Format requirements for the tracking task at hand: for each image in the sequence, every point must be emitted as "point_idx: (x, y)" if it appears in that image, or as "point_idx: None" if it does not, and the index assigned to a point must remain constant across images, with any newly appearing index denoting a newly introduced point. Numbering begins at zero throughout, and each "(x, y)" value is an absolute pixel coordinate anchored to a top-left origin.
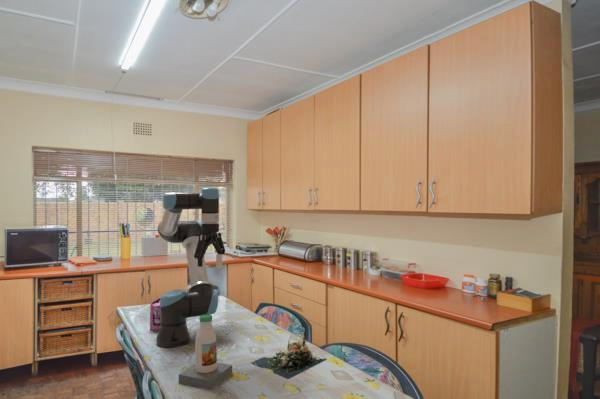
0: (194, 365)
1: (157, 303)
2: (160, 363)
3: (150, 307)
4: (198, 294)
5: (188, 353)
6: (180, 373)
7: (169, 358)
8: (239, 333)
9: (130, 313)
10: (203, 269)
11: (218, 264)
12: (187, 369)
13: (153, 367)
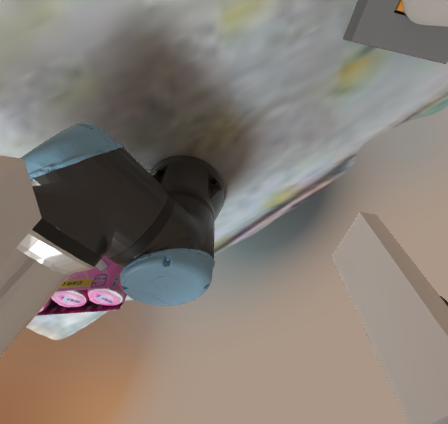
0: (392, 44)
1: (102, 300)
2: (311, 158)
3: (124, 300)
4: (115, 217)
5: (249, 122)
6: (441, 61)
7: (283, 152)
8: (47, 25)
9: (76, 320)
10: (403, 250)
11: (1, 225)
12: (418, 52)
13: (332, 161)
